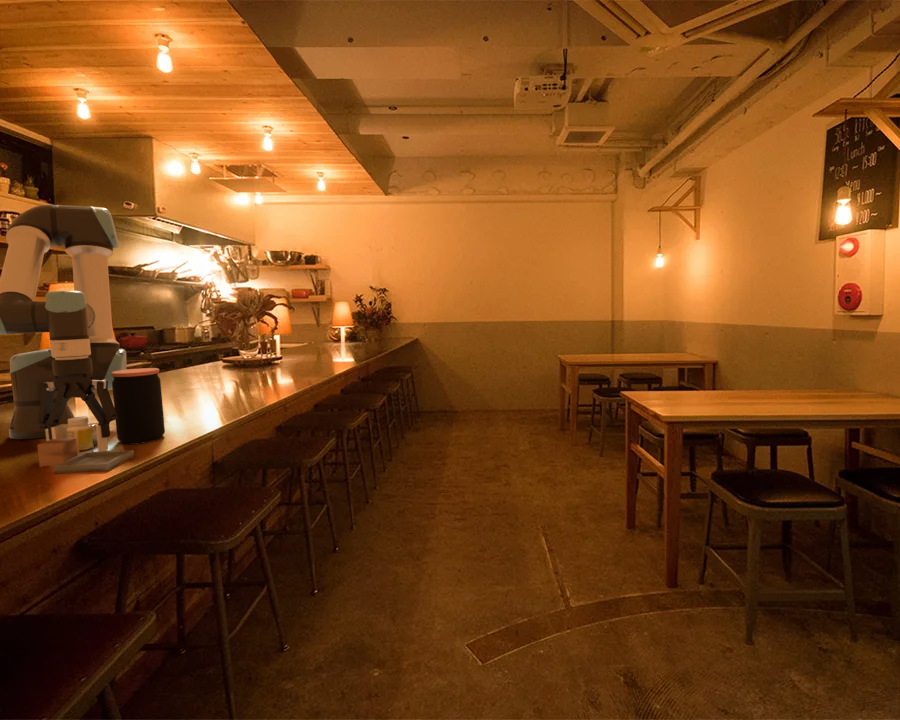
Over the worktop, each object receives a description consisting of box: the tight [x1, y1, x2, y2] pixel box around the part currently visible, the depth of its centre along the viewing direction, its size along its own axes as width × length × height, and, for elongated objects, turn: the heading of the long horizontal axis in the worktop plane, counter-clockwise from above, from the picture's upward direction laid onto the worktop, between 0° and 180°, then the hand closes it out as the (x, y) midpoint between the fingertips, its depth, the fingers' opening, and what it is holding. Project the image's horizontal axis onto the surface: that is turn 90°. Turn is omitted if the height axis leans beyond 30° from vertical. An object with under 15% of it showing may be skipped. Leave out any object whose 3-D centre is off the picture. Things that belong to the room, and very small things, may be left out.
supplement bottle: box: [67, 415, 95, 455], centre depth 124 cm, size 5×5×8 cm
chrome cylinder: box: [88, 422, 99, 447], centre depth 132 cm, size 4×4×5 cm
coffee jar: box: [111, 367, 166, 445], centre depth 135 cm, size 11×11×18 cm
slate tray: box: [53, 449, 135, 475], centre depth 114 cm, size 11×11×2 cm
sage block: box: [45, 424, 69, 442], centre depth 132 cm, size 6×4×5 cm, turn 5°
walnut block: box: [36, 438, 78, 468], centre depth 116 cm, size 5×5×5 cm
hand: (81, 452), depth 124 cm, fingers open, 9 cm apart
